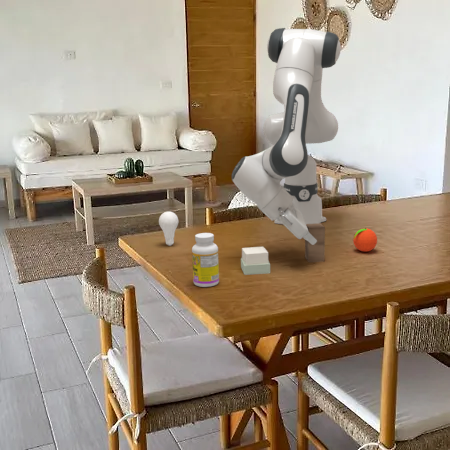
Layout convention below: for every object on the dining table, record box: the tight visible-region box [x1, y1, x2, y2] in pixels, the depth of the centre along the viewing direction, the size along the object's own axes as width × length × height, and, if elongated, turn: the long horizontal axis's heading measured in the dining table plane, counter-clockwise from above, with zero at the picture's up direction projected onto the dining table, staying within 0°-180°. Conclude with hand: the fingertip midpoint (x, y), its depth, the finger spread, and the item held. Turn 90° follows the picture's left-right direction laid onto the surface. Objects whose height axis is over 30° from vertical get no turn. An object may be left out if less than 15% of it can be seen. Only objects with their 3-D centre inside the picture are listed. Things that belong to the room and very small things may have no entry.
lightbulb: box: [158, 211, 179, 247], centre depth 187 cm, size 6×6×11 cm
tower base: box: [240, 257, 271, 276], centre depth 161 cm, size 7×7×3 cm
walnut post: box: [304, 222, 326, 263], centre depth 168 cm, size 4×4×10 cm
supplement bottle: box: [191, 232, 220, 288], centre depth 150 cm, size 7×7×13 cm
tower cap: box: [241, 246, 269, 265], centre depth 161 cm, size 6×6×3 cm
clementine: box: [352, 227, 378, 253], centre depth 175 cm, size 8×7×7 cm
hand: (313, 238), depth 168 cm, fingers open, 8 cm apart
